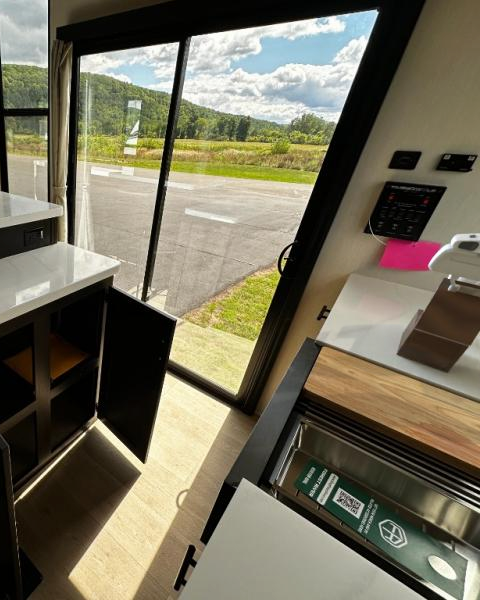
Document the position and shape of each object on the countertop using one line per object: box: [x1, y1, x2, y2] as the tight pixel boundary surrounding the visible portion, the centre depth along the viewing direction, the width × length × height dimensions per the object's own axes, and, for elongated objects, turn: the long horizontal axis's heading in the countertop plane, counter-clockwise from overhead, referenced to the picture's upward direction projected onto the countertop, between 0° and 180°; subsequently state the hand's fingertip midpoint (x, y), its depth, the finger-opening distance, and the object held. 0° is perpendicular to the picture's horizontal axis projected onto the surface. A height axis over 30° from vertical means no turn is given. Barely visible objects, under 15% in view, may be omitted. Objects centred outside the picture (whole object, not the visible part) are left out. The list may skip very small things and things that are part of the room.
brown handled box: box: [414, 277, 480, 347], centre depth 86 cm, size 16×11×5 cm
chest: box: [396, 308, 470, 374], centre depth 96 cm, size 15×11×10 cm
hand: (468, 294), depth 84 cm, fingers closed on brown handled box, 5 cm apart
